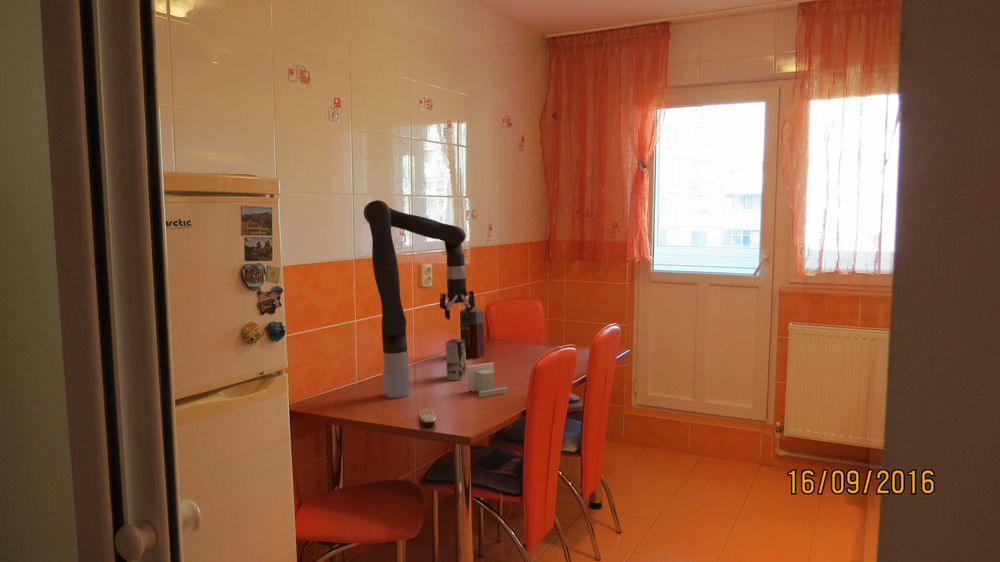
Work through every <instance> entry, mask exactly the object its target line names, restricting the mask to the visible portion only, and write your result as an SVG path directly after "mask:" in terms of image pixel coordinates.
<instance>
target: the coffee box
mask: <svg viewBox="0 0 1000 562" xmlns="http://www.w3.org/2000/svg"><path fill="white" fill-rule="evenodd" d="M445 347H446V349H445V350H446V351H445V353H446V375H447V376H446V379H447V381H462V380H463V379H464V378H466V366H467V359H466V352H465V339H461V338H456V339H455V338H452V339H450V340H448V341H446V342H445Z"/></svg>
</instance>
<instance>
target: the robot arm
mask: <svg viewBox="0 0 1000 562" xmlns="http://www.w3.org/2000/svg"><path fill="white" fill-rule="evenodd" d="M363 208H364V209H363V216H364V218H365V221H366V222H367V223H368V224H369V229H370V233H371V238H372V240H371V241H372V244H371V245H372V247H371V248H372V249H371V256H372V258H371V259H372V270H373V274H374V275H373V276H374V279H375V284H376V288H377V292H378V294H379V298H380V302H381V315H382V317H381V337H382V339H381V340H382V353H383V371H382V372H381V375H382V390H383V391H382V393H383V396H384V397H386V398H388V399H394V398H395V399H396V398H397V399H398V398H404V397H407V396H409V395H410V382H409V381H410V380H409V361H408V360H409V359H408V358H409V357H408V356H409V355H408V341H407V319H406V317H405V316H406V315H405V312H404V308H403V304H402V300H401V299H402V298H401V287H400V286H401V285H400V284H401V283H400V274H399V273H400V272H399V265H398V259H397V255H396V254H397V253H396V249H395V245H394V241H393V237H392V228H396V229H401V230H404V231H406V232H410V233H413V234H416V235H419V236H422V237H425V238H429V239H435V240H440V241H443V242H444V246H445V247H444V248H445V251H446V288H447V292H446V293H441V292H440V293H439V308H440V309H442V310H444V318H445V320H451V310H450V309H451V307H452V306H453V305H454V304H463V305H464V307H465V308H464V309H465V317H467V318H468V317H469V316H470V308H471V307H472V306H474V305H475V303H476V300H475V294H474V293H475V292H474V291H473V290H468V291H467V273H466V272H467V271H466V265H465V264H466V262H465V254H464V251H463V249H462V248H463V246H462V245H463V243H464V242H465V240H466V233H465V231H464V229H462V228H461V227H460V226H458V225H457V226H456V225H452V224H447V223H443V222H440V221H437V220H434V219H430V218H429V217H428V218H427V217H423V216H419V215H414V214H409V213H405V212H402V211H399V210H396V209H393V208H391V207H389V205H388V204H387V203H386V202H385V201H383V200H379V199H377V200H376V199H375V200H372V201H370V202H369V203H367V204H366V205H365V207H363ZM466 297H468V299H467V298H466ZM447 298H448V300H447V301H446V299H447ZM468 301H469V303H468Z"/></svg>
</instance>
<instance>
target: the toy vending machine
mask: <svg viewBox="0 0 1000 562" xmlns="http://www.w3.org/2000/svg"><path fill="white" fill-rule="evenodd" d="M467 301H468V303H469V300H467ZM476 305H477V303H476V302H475V305H474V306H472V307H471V308H470V316H469V317H468V318H467V317H465V308H464V309H461V310H460V311H459V326H460V327H459V328H460V330H459V331H460V339H465V352H466V358H479V359H481V358H483V357H484V356H485V335H484V334H485V333H484V310H483V308H482V307H481V308H479V307H478V308H477V307H476ZM483 355H484V356H483ZM482 356H483V357H482ZM480 357H481V358H480Z"/></svg>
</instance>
